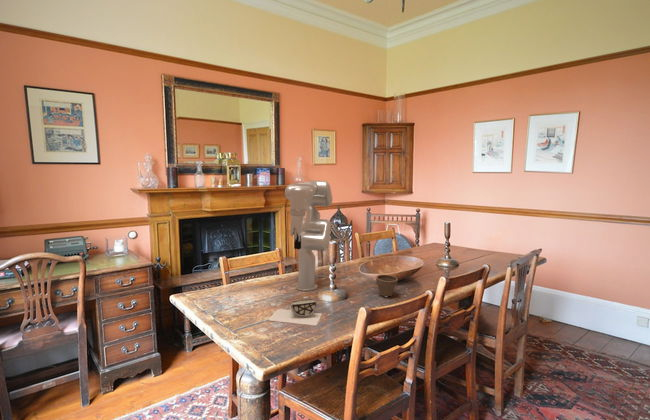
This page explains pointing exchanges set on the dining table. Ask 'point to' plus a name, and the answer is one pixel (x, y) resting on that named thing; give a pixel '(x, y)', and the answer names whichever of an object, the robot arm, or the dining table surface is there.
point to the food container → (303, 307)
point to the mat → (295, 317)
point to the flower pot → (386, 284)
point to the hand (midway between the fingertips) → (297, 248)
